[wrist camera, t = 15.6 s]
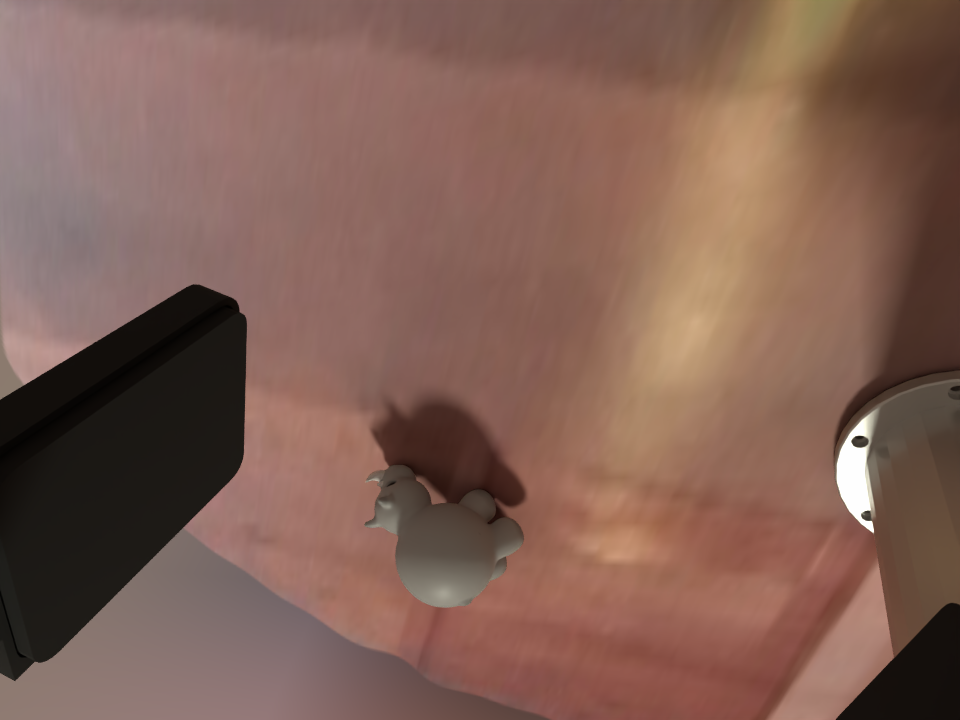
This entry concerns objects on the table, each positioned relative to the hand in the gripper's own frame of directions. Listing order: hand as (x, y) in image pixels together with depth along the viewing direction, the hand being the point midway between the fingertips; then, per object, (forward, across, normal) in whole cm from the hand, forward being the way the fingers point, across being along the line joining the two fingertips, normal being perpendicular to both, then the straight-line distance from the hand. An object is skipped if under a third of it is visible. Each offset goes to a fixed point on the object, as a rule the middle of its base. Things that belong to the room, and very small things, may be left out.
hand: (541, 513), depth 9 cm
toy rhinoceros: (+32, +8, +34) cm, 47 cm away
